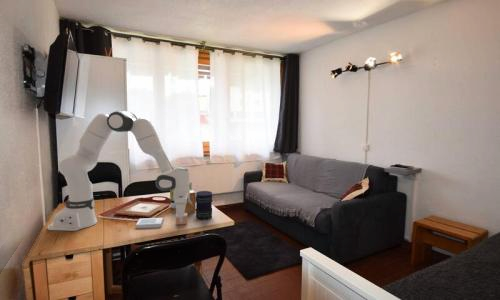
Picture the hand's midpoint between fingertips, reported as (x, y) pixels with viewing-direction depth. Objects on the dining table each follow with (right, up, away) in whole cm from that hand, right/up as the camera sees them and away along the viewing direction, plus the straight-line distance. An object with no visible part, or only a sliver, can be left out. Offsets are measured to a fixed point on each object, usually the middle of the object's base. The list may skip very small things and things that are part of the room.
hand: (181, 219), depth 153 cm
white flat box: (-17, -2, -3) cm, 17 cm away
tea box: (-8, +1, +32) cm, 33 cm away
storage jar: (+11, -1, +10) cm, 15 cm away
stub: (0, -2, 0) cm, 2 cm away
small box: (-1, 0, +19) cm, 19 cm away
